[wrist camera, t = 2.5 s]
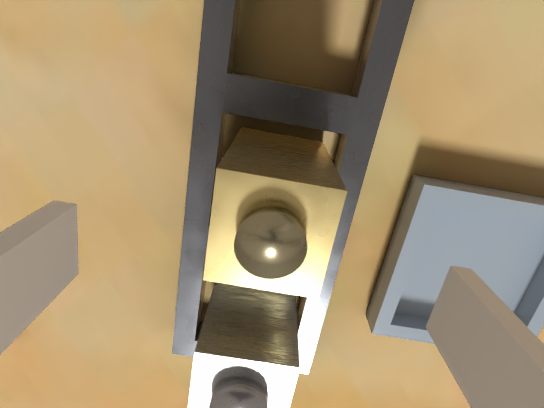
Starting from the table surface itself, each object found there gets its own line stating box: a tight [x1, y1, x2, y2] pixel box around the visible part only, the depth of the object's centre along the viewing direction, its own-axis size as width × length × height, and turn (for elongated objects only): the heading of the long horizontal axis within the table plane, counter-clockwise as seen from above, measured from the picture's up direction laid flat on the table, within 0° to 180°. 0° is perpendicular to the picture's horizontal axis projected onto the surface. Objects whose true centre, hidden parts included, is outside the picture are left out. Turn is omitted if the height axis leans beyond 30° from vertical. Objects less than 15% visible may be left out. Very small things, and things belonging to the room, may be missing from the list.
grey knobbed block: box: [188, 282, 300, 408], centre depth 21 cm, size 5×5×10 cm
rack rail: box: [172, 0, 414, 374], centre depth 22 cm, size 28×10×2 cm, turn 170°
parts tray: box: [366, 174, 544, 344], centre depth 24 cm, size 11×11×2 cm
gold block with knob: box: [203, 127, 347, 299], centre depth 18 cm, size 5×5×10 cm
